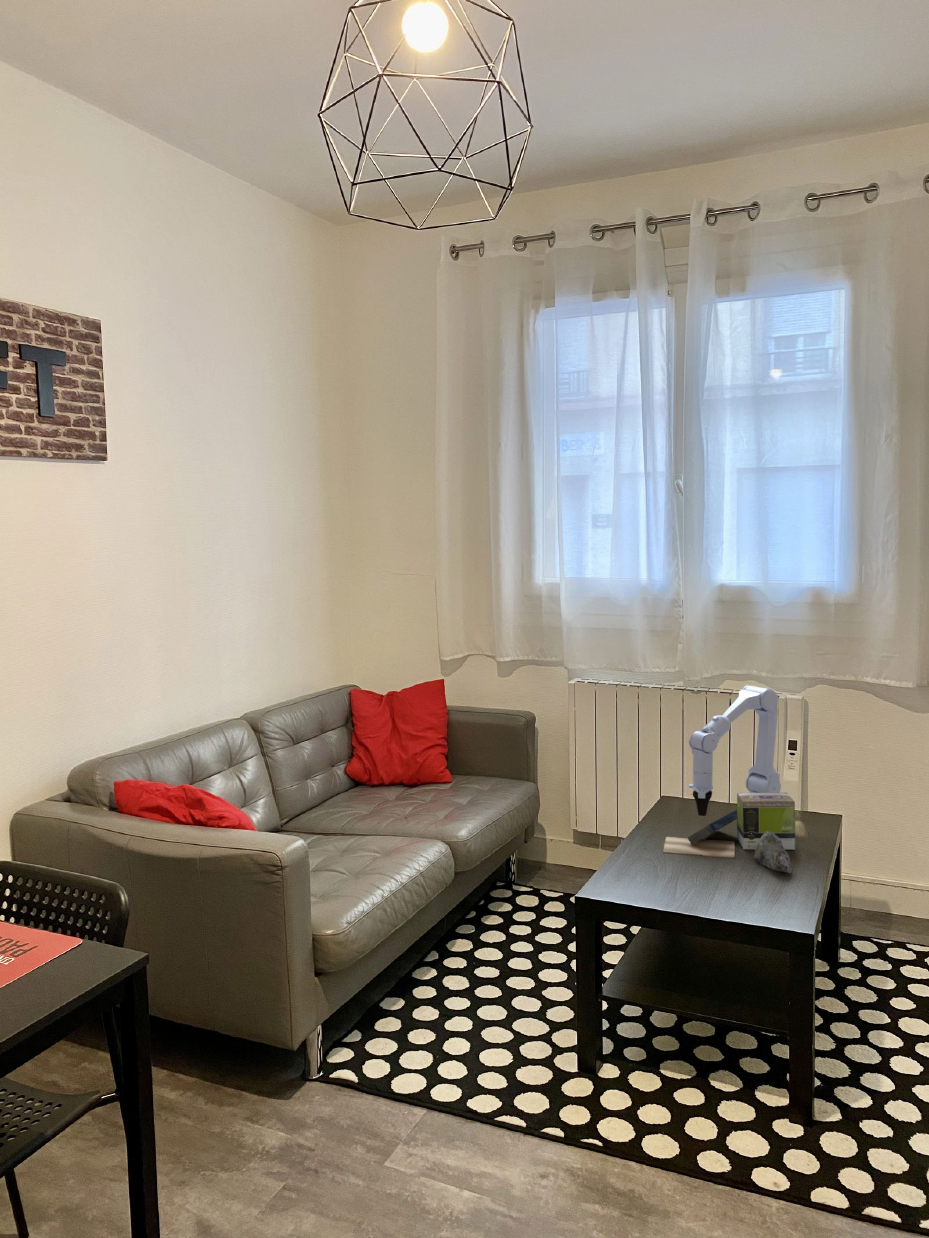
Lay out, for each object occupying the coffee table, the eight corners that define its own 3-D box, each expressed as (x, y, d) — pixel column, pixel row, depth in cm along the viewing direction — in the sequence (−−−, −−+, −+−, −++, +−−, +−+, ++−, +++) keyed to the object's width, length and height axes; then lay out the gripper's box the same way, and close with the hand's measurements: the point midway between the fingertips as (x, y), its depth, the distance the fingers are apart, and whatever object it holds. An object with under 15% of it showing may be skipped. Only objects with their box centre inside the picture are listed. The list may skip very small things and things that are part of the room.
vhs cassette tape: (714, 822, 303) (738, 808, 297) (719, 831, 302) (744, 817, 296) (685, 836, 289) (710, 821, 284) (691, 845, 288) (716, 830, 283)
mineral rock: (791, 879, 262) (792, 843, 261) (749, 874, 266) (750, 838, 265) (794, 863, 274) (795, 828, 273) (754, 858, 278) (755, 824, 277)
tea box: (787, 839, 293) (788, 791, 292) (795, 851, 283) (796, 801, 282) (736, 838, 295) (736, 791, 293) (742, 850, 285) (742, 800, 283)
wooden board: (666, 837, 297) (666, 836, 296) (734, 842, 291) (734, 841, 291) (663, 852, 284) (663, 851, 284) (734, 858, 278) (734, 857, 278)
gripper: (690, 764, 302) (689, 807, 304) (687, 776, 288) (687, 821, 290) (713, 765, 300) (713, 808, 302) (712, 778, 286) (711, 823, 288)
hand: (702, 815), depth 296 cm, fingers closed
